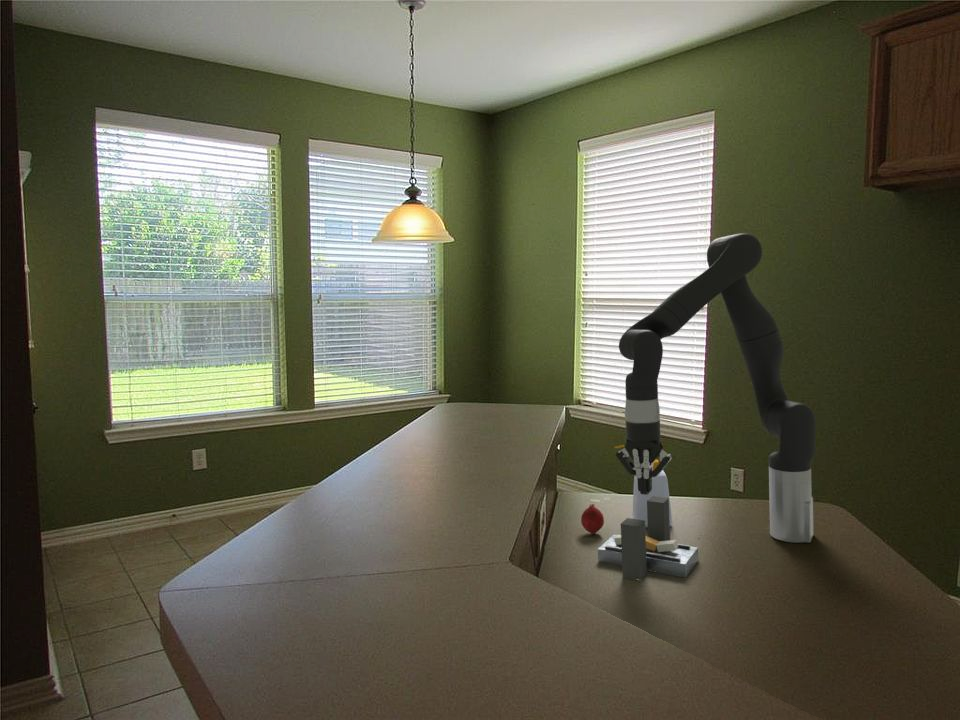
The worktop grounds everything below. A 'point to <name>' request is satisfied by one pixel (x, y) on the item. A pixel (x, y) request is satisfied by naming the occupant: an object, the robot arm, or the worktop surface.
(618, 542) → the paddle
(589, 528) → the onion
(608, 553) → the breaker panel
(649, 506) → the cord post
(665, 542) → the paddle
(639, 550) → the cord post
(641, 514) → the soap bottle
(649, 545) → the orange block
